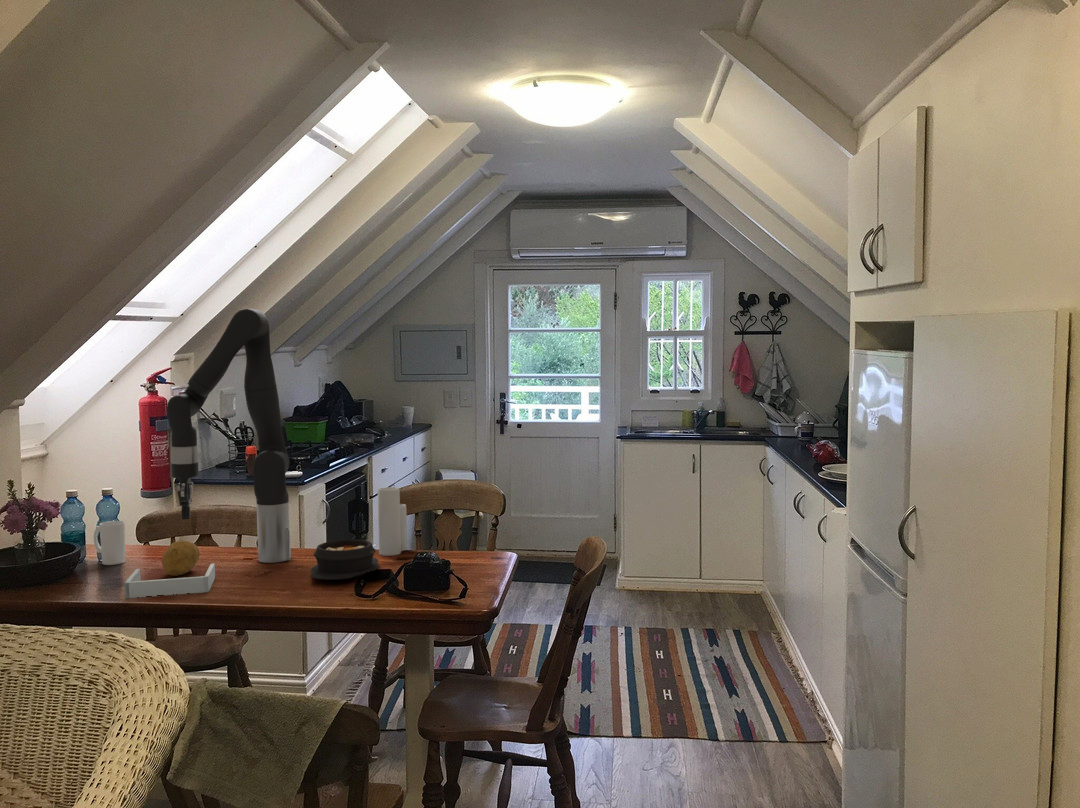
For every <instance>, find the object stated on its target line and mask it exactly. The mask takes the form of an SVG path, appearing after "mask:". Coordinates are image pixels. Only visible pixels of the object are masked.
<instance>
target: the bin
mask: <svg viewBox="0 0 1080 808" xmlns="http://www.w3.org/2000/svg"><path fill="white" fill-rule="evenodd" d="M141 576H142V575H141V568H136V569H135V570H134V571H133V572H132V573H131V575H130V576H129V577H128V578H127V579H126V581H125V582H124V599H125V600H126V599H136V598H137V597H139V598H147V597H146V596H152V597H158V596H157V595H164V596H174V595H175V596H176V594H177V595H188V594H187V593H190V594H200V593H201V594H202V593H209V592H210V590H211V588H212V586H213V584H214V581H215V579H216V563H211V564H210V565H209V567H208V568H207V571H206V572H205V575H204V576H203V575H201V576H190V577H177V578H175V577H174V578H165V579H164V578H163V579H161V578H160V579H150V580H141V579H142V578H141ZM173 594H174V595H173Z"/></svg>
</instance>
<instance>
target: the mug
mask: <svg viewBox="0 0 1080 808" xmlns="http://www.w3.org/2000/svg"><path fill="white" fill-rule="evenodd" d="M125 526H126V524H125V521H124V520H110V521H103V522H101V523H99V525H95V529H94V532H93V544H94V547H95V549H96V552H97V554H98V553H100V554H101V563H102V565H105V566H116V565H120V564H124V563H125V562H126V527H125ZM98 536H99V537H100V543H99V539H98Z"/></svg>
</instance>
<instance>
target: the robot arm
mask: <svg viewBox="0 0 1080 808" xmlns="http://www.w3.org/2000/svg"><path fill="white" fill-rule="evenodd" d="M270 338H271V337H270V324H269V320H268V317H267V316H266V314H264V312H262V311H261V310H259V309H255V308H242V309H239V310H237V311H236V312H235V313H234V314H233V316H232V318H231V319H230V321H229V323H228V324H227V326H226V329H224V332H223V333H222V335H221V337H220V338H219V340H218V341H217V342H216V344H215V346H214V347H213V349H212V350H211V352H210V353H209V354H208V356H207V357H206V358H205V359H204V360H203V362H201V364H200V366H199V367H197V369H196V370H195V371H194V373H193V374H192V375H191V377H190V379H188V383H187V384H188V386H187V387H186V388H185V390H184V391H183V392H182V394H176V395H173V396H172V397H171V398H170V399H168V402H167V404H166V405H167V406H166V416H167V421H168V424H169V428H170V431H171V438H170V439H171V449H170V450H171V451H170V452H171V453H170V465H171V466H170V473H171V478H172V479H179V483H178V484H177V487H176V488H177V496H178V501H179V502H178V503H179V507H180V508H181V520H190V518H191V505H192V502H193V488H194V482H192V478H193V479H194V478H197V477H199V475H200V474H199V472H200V471H199V450H198V437H197V436H198V435H197V433H198V432H197V429H196V428H195V427H194V426H193V422H192V417H193V416H195V415H196V414H197V413H198V412H199V411H200V410H201V409H202V407H203V406H204V404H205V403H206V400H207V399H208V397H209V395H210V394H211V392H212V391H213V390H214V389H215V387H216V386H217V385H218V384H219V382H220V381H221V380H222V379H223V377H224V376H225V375H226V373H227V371H228V369H229V366H230V365H231V363H232V361H233V359H234V358H235V356H236V355H237V354H238V352H239V351H240V350H241V349H242V348H243V347H244V351H245V357H246V362H245V363H246V364H245V370H244V382H243V383H244V384H243V385H244V386H243V388H244V394H245V402H246V407H247V411H248V414H249V416H250V420H251V421H252V423H253V426H254V429H255V430H256V434H257V439H258V441H257V442H258V451H259V452H258V454H257V456H256V457H255V458H254V460H253V465H252V475H253V491H254V495H255V500H256V525H257V527H256V528H257V529H256V532H257V555H258V562H260V563H265V564H266V563H267V564H268V563H269V564H270V563H271V564H273V563H282V562H286V561H291V557H292V555H291V554H292V553H291V550H292V549H291V525H290V505H289V504H290V503H289V497H290V496H289V492H288V490H287V479H286V473H287V472H288V471H289V467H290V458H289V454H288V451H287V447H286V443H285V440H284V435H283V430H282V429H283V428H282V420H281V419H282V417H281V410H280V409H281V408H280V401H279V393H278V388H277V387H278V385H277V381H276V376H275V370H274V364H273V359H272V355H271V344H270V343H271V339H270Z"/></svg>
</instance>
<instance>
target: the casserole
mask: <svg viewBox="0 0 1080 808" xmlns="http://www.w3.org/2000/svg"><path fill="white" fill-rule="evenodd" d="M376 551H377V550H376V548H374V546H373V543H372V542H371V541H370V540H369V541H368V540H366V539H352V538H351V539H350V538H349V539H348V538H347V539H337V540H331V541H330V540H329V541H326V542H323V543H320V544H318V545H317V547H316V549H315V551H314V553H313V557H314V558H315V559H316V565H313V566H312V567H311V569H310V572H311V573H310V576H309V577H310V578H312V579H315V580H324V581H325V580H326V581H339V580H340V581H341V580H348V579H355V578H359V577H361V576H364V575H363V574H365V573H367V572H369V573H371V572H370V571H372V572H374V571H376V570H377V569H378V568H380V565H379V563H378V562H379V559H378V558H376V557H374V554H375V553H376ZM367 574H368V573H367ZM365 575H366V574H365Z"/></svg>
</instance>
